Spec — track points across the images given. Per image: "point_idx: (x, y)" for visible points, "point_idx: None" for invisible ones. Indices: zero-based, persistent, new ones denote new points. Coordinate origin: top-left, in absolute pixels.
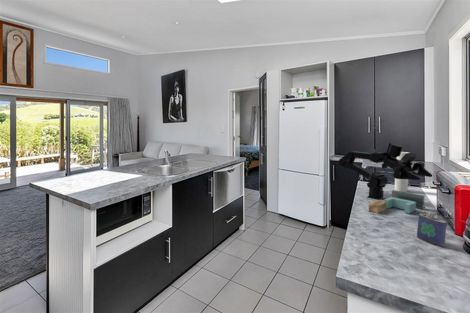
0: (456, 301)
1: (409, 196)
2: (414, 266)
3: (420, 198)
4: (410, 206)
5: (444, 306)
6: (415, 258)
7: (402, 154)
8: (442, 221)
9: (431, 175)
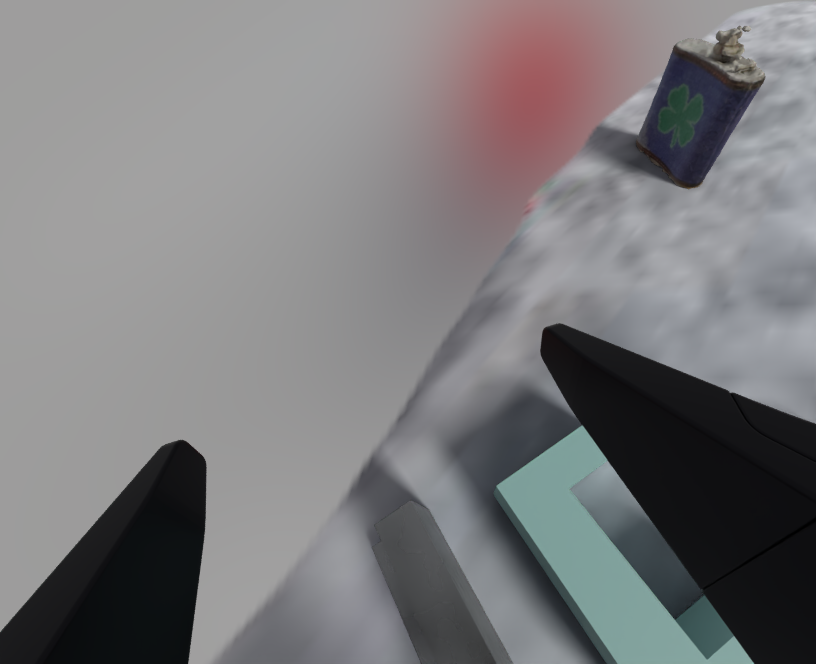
0: (745, 16)
1: (484, 636)
2: (791, 64)
3: (425, 522)
4: None
5: (775, 5)
6: (772, 87)
7: None
8: (692, 41)
9: (187, 449)
